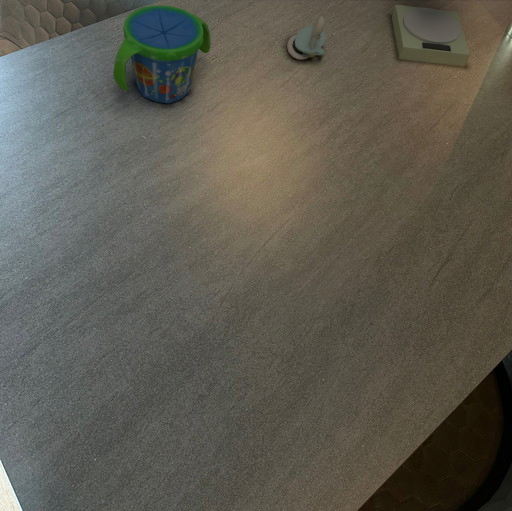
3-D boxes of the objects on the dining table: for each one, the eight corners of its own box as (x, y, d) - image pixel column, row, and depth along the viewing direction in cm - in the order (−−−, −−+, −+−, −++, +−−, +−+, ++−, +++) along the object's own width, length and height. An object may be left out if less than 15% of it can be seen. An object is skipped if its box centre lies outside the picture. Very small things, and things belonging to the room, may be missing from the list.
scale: (452, 24, 110) (458, 9, 108) (464, 66, 103) (471, 51, 100) (391, 16, 109) (396, 1, 107) (398, 59, 102) (404, 44, 100)
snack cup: (187, 52, 97) (189, -9, 89) (228, 91, 92) (234, 30, 84) (97, 85, 90) (90, 22, 82) (137, 129, 86) (134, 67, 77)
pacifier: (284, 62, 98) (322, 67, 98) (289, 26, 93) (329, 32, 93) (288, 34, 103) (324, 39, 103) (293, -1, 98) (331, 4, 98)
